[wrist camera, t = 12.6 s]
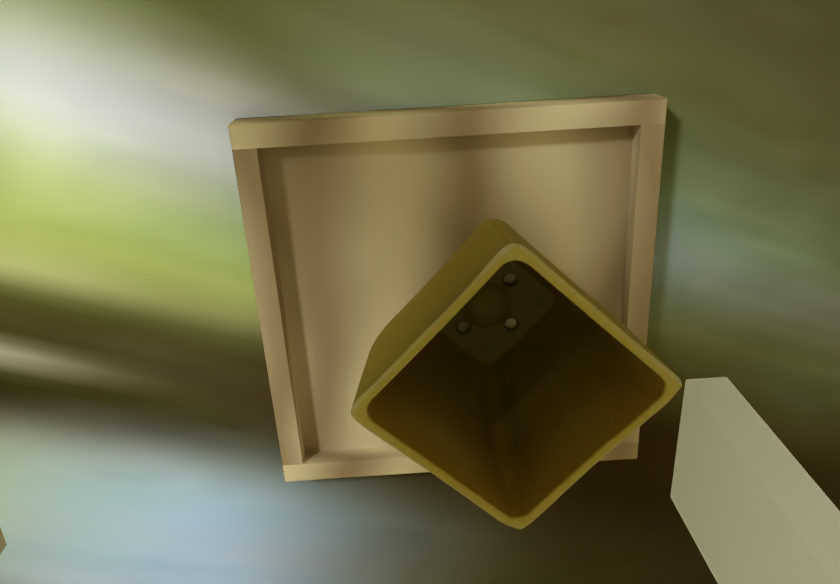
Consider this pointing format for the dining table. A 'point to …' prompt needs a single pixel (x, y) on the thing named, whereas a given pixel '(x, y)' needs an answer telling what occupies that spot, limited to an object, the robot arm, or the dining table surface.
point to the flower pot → (507, 378)
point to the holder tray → (428, 236)
